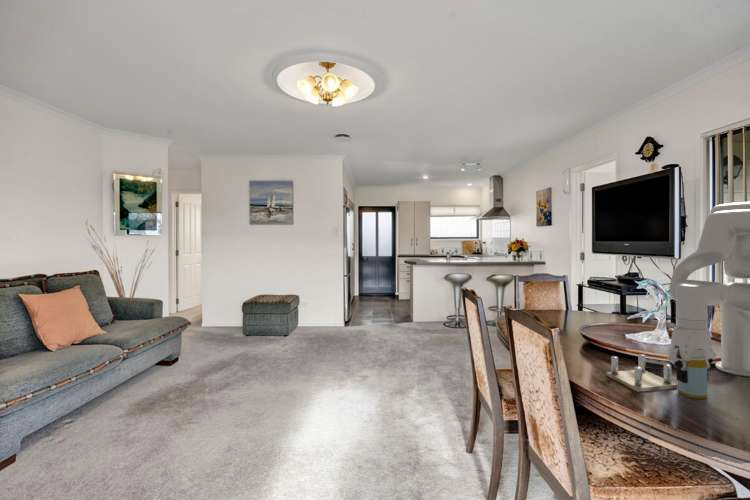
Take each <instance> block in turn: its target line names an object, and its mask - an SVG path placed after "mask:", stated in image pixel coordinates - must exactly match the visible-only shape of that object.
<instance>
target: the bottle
mask: <svg viewBox="0 0 750 500" xmlns="http://www.w3.org/2000/svg"><path fill="white" fill-rule="evenodd" d="M680 359H682V357H681V358H680ZM682 363H683V361H680V364H681V365H682ZM686 370H687V383H683V382H681V381H678V380H677V385H678V388H677V391H678V392H679V394H680V395H682V396H684V397H686V398H687V397H688V398H689V399H690V398H691V399H696V400H698V399H699V400H703V399H705V398H707V397H708V381H707V363H706V360H705V349H703V350H694V351H693V358H692V361H689V362H687V367H686Z"/></svg>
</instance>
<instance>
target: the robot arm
mask: <svg viewBox="0 0 750 500" xmlns="http://www.w3.org/2000/svg"><path fill="white" fill-rule="evenodd" d="M702 228H703V229H702V231H701V236H700V238H699V242H698V245H697V249H696V250H695V251H694V252H692V253H691V254H689V255H688V256H686V257H685V258H684V259H683V260H682V261H680V262H679V264H678V265H677V266H676V267H675V268H674V270H673V272H672V275H671V279H670V283H669V288H668V294H669V296H670V298H671V299H672V300H673V301H675V326H674V327H673V330H672V333H671V341H670V354H669V355H668V356H667V358H666V359H667V360H668V362H669V361H670V364H671V365H673V366H674V368H676V369H675V370H676V381H677V382H678V381H681V382H683V383H687V370H686V367H687V362H689V361H692V358H693V351H694V350H703V349H705V360H706V363H707V382H709V369H710V368H711V364H712V363H713V362H714V360H715V359H716V358H717V356H718V355H717V354H716V353H715V352H714V350H713V343H712V336H711V332H710V328H709V322H710V321H709V318H708V317H709V315H708V312H709V311H708V307H709V306H710V307H716V306H717V307H718V306H719V309H720V339H721V340H720V341H721V342H720V343H721V345H720V349H721V350H720V351H721V352H720V353H721V355H720V356H721V357H720V358H721V359H720V360H721V361H717V362H716V363H715V367H716V369H718V370H720V371H721V372H725V373H728V374H732V375H735V376H741V377H750V283H749V282H726V283H721V282H717V281H707V280H694V279H688V278H689V276H690V275H692V274H693V273H695V272H696V271H697V270H700V269H703V268H706V267H708V266H713V265H715V264H719V263H722V262H723V269H724V273H725V275H726V276H727V277H728V278H732V279H739V280H750V201H743V202H742V201H741V202H730V203H729V202H728V203H723V204H717V205H715V206H713V207H712V208H711V209H710V213H709V215H707V216H706V219H705V220H704V225H703V227H702ZM681 357H682V359H680V358H681ZM680 361H683V363H682V365H681V364H680Z"/></svg>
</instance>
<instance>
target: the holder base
mask: <svg viewBox="0 0 750 500" xmlns="http://www.w3.org/2000/svg"><path fill="white" fill-rule="evenodd" d="M606 376H607V377H609V378H610V379H613V380H614V381H616V382H618V383H620V384H622V385H624V386H626V387H628V388H630V389H631V390H634V391H635V392H637V393H639V392H651V391H662V390H673V389H678V383H677V384H676V383H674V382H673V381H671V382H672V384H666V383H664V377H661V376H659V375H658V374H655V373H650V372H648V371H646V372H645V373H643V372H642V387H638V386H635V374H634V369H630V370H629V369H628V370H618V375H614V374H612V371H606Z"/></svg>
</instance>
